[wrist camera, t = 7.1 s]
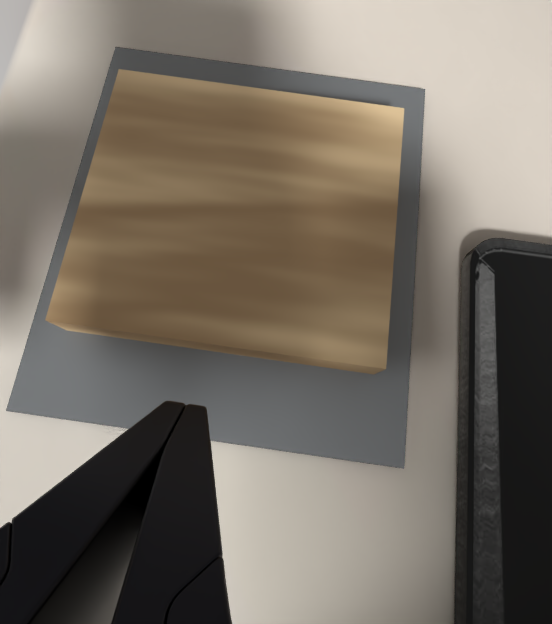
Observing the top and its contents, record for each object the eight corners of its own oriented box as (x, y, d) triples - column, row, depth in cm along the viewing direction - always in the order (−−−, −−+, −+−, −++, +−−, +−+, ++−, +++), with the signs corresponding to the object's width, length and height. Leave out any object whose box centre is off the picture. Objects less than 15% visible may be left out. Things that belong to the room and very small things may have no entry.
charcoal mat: (401, 467, 14) (404, 468, 14) (11, 410, 14) (6, 410, 14) (422, 94, 18) (425, 89, 18) (117, 52, 18) (115, 46, 18)
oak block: (386, 369, 13) (404, 108, 16) (45, 320, 13) (118, 69, 16) (373, 374, 15) (392, 134, 17) (66, 330, 15) (131, 98, 17)
